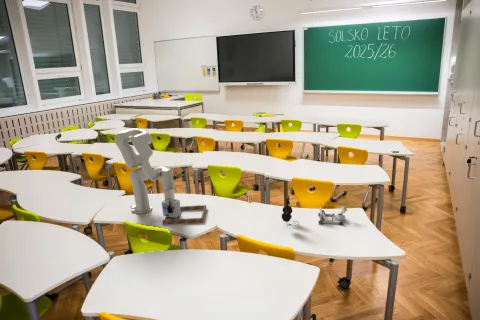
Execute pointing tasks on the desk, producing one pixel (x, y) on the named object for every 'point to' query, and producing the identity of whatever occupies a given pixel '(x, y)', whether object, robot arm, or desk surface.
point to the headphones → (287, 212)
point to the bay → (189, 220)
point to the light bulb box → (175, 209)
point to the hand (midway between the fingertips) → (171, 209)
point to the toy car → (332, 217)
